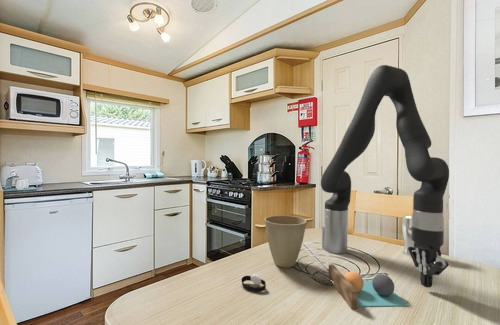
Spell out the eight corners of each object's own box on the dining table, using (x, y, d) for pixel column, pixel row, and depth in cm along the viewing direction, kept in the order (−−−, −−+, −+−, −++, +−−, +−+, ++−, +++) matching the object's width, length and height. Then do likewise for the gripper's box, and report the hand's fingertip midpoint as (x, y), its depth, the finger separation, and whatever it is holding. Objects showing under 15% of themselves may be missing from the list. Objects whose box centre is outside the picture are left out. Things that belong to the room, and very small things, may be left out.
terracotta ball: (336, 285, 71) (343, 267, 71) (345, 284, 75) (352, 267, 75) (353, 297, 67) (361, 278, 67) (362, 296, 70) (369, 278, 70)
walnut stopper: (357, 309, 62) (357, 291, 62) (351, 309, 62) (351, 291, 62) (333, 278, 78) (333, 264, 78) (328, 278, 78) (328, 264, 78)
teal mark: (356, 306, 63) (356, 305, 63) (335, 280, 77) (335, 279, 77) (409, 305, 64) (409, 305, 64) (378, 279, 78) (378, 279, 78)
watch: (268, 288, 73) (268, 276, 73) (261, 295, 69) (261, 282, 68) (246, 281, 76) (246, 269, 76) (237, 288, 72) (238, 275, 72)
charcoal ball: (366, 279, 70) (380, 267, 70) (369, 287, 73) (383, 274, 73) (383, 296, 65) (398, 282, 66) (385, 303, 68) (400, 290, 69)
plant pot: (314, 267, 86) (315, 222, 86) (278, 275, 80) (279, 226, 80) (289, 252, 100) (290, 213, 100) (256, 259, 93) (257, 216, 93)
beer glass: (426, 258, 96) (426, 220, 95) (406, 257, 97) (406, 218, 97) (417, 252, 102) (418, 216, 102) (399, 250, 104) (399, 215, 104)
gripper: (460, 233, 65) (458, 298, 65) (422, 220, 78) (421, 275, 78) (432, 233, 65) (431, 299, 65) (399, 220, 78) (398, 275, 78)
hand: (426, 285), depth 72 cm, fingers closed
